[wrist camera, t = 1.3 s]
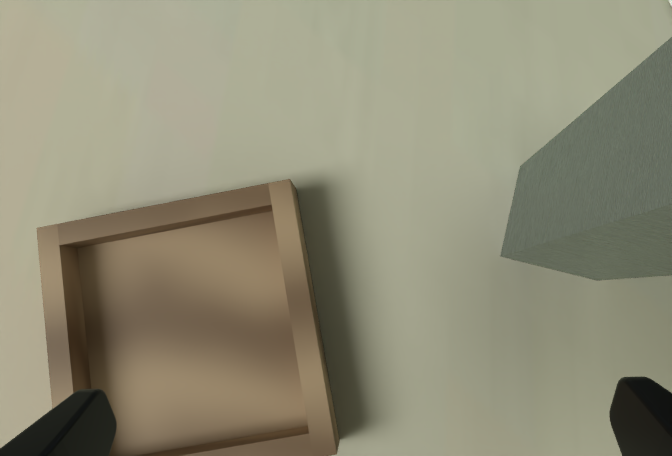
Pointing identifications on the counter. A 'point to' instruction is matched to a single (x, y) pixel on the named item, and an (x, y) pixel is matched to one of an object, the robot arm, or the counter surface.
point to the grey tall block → (603, 185)
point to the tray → (192, 325)
